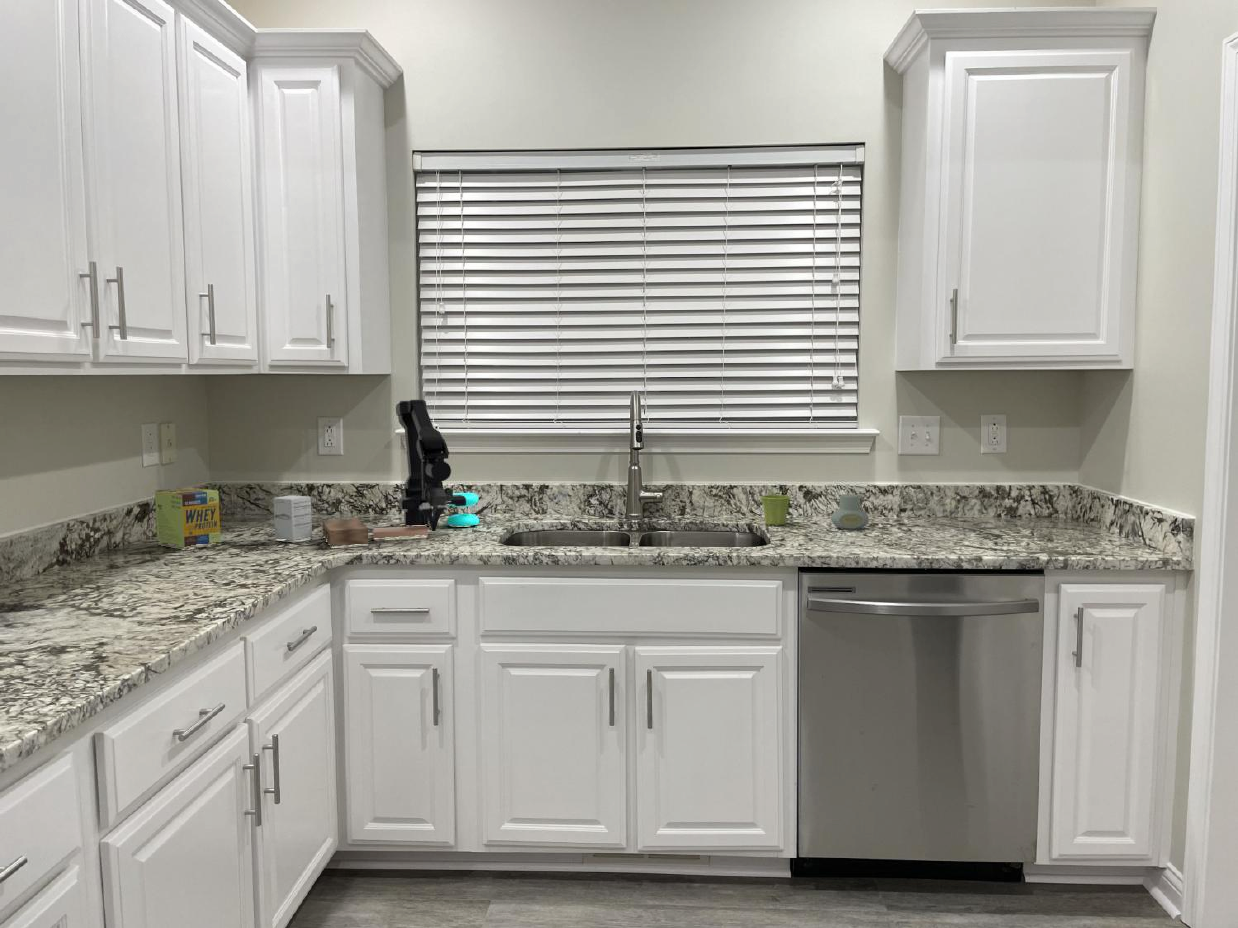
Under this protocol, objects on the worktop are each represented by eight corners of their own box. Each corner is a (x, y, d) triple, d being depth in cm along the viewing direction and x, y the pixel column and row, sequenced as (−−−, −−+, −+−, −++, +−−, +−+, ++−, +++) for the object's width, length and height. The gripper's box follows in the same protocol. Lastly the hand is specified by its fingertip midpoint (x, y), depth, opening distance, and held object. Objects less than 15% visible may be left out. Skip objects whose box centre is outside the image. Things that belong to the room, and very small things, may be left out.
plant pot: (754, 522, 280) (754, 495, 280) (781, 521, 283) (782, 493, 282) (768, 527, 271) (768, 498, 271) (796, 525, 274) (796, 497, 273)
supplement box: (274, 541, 254) (272, 497, 252) (294, 537, 260) (292, 494, 259) (292, 543, 250) (290, 499, 249) (313, 539, 257) (311, 495, 255)
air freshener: (866, 526, 271) (867, 493, 270) (870, 530, 263) (870, 497, 262) (829, 526, 273) (830, 493, 272) (832, 530, 265) (832, 496, 264)
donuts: (485, 493, 279) (461, 497, 271) (485, 525, 280) (462, 529, 272) (462, 491, 285) (439, 494, 277) (463, 522, 286) (439, 526, 278)
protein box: (184, 551, 240) (181, 494, 238) (156, 545, 249) (153, 490, 248) (222, 545, 248) (219, 490, 247) (193, 540, 257) (190, 486, 256)
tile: (427, 535, 264) (426, 525, 264) (427, 540, 256) (427, 530, 256) (374, 538, 261) (374, 528, 260) (373, 542, 253) (373, 532, 253)
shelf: (358, 535, 263) (357, 518, 263) (368, 546, 245) (368, 528, 245) (322, 537, 259) (322, 520, 259) (330, 549, 241) (330, 530, 241)
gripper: (405, 482, 250) (406, 537, 251) (470, 479, 257) (471, 532, 259) (397, 478, 260) (399, 532, 261) (460, 475, 267) (461, 527, 269)
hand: (433, 531), depth 262 cm, fingers closed
